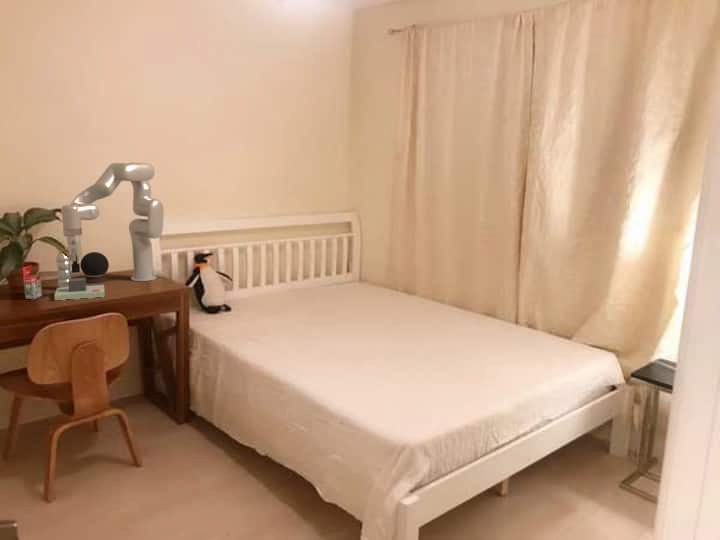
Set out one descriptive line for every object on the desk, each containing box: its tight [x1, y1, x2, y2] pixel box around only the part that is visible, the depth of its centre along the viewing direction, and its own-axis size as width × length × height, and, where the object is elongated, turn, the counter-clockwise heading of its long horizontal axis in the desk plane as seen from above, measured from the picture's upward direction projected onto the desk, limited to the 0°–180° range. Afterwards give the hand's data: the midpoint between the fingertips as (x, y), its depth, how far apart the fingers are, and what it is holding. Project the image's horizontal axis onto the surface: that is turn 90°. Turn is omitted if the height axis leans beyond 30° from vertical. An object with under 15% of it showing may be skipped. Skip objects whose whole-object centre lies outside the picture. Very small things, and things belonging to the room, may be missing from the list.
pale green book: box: [53, 284, 105, 301], centre depth 258 cm, size 20×15×3 cm
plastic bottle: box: [55, 246, 73, 288], centre depth 268 cm, size 6×7×20 cm
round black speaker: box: [79, 251, 110, 284], centre depth 286 cm, size 13×13×15 cm
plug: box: [68, 277, 87, 292], centre depth 258 cm, size 7×5×7 cm
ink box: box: [22, 264, 43, 301], centre depth 251 cm, size 4×8×15 cm, turn 3°
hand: (76, 272), depth 256 cm, fingers closed
